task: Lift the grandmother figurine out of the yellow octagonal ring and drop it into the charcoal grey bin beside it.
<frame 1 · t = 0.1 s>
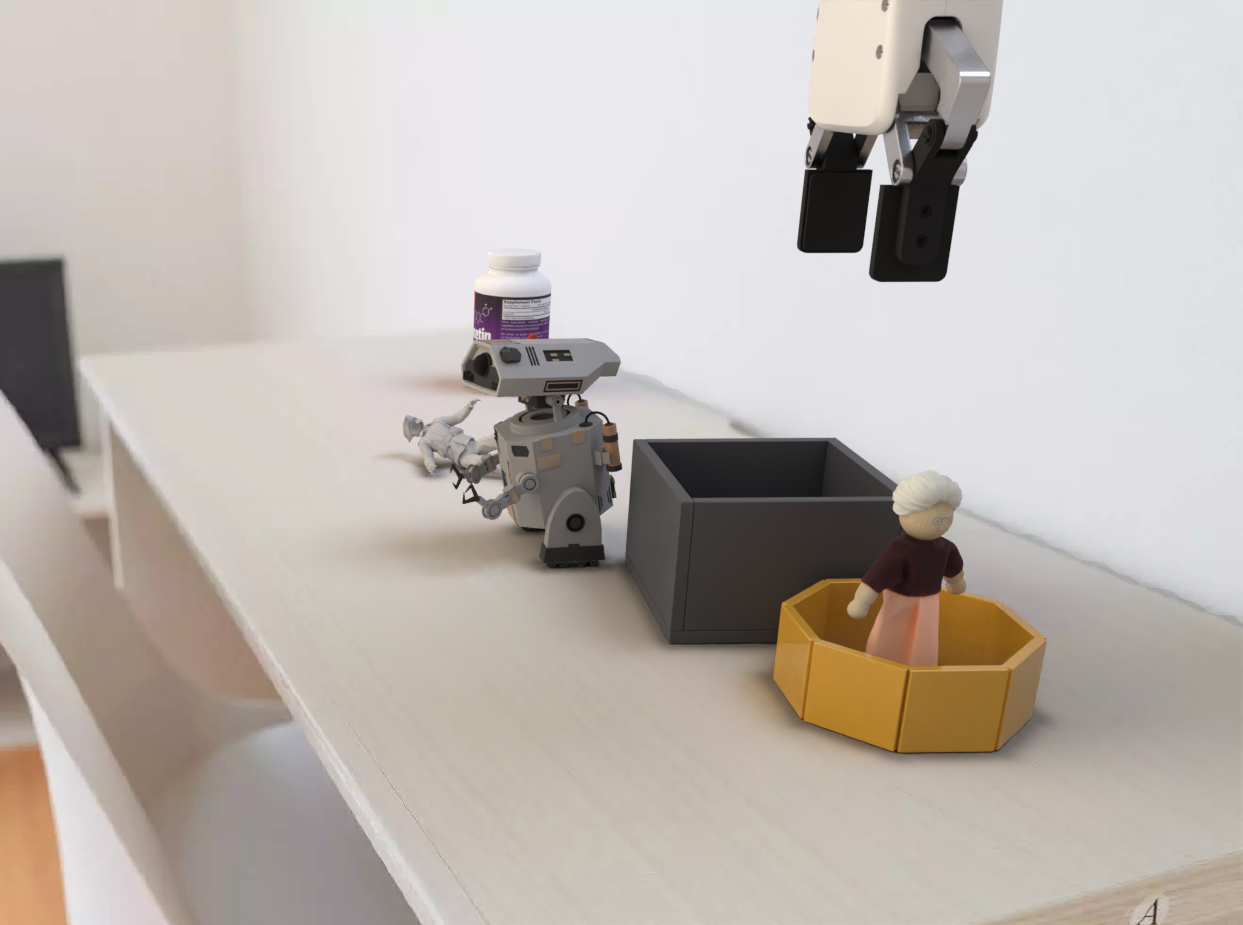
hand: (864, 265, 60), 23 cm above the table, tool pointing down, fingers open, 9 cm apart
grandmother figurine: (897, 700, 69), resting in yellow octagonal ring
bin: (750, 599, 82), on the table
figurine: (529, 550, 91), on the table
pill bottle: (509, 390, 138), on the table
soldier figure: (465, 470, 110), on the table
yellow octagonal ring: (898, 697, 69), on the table
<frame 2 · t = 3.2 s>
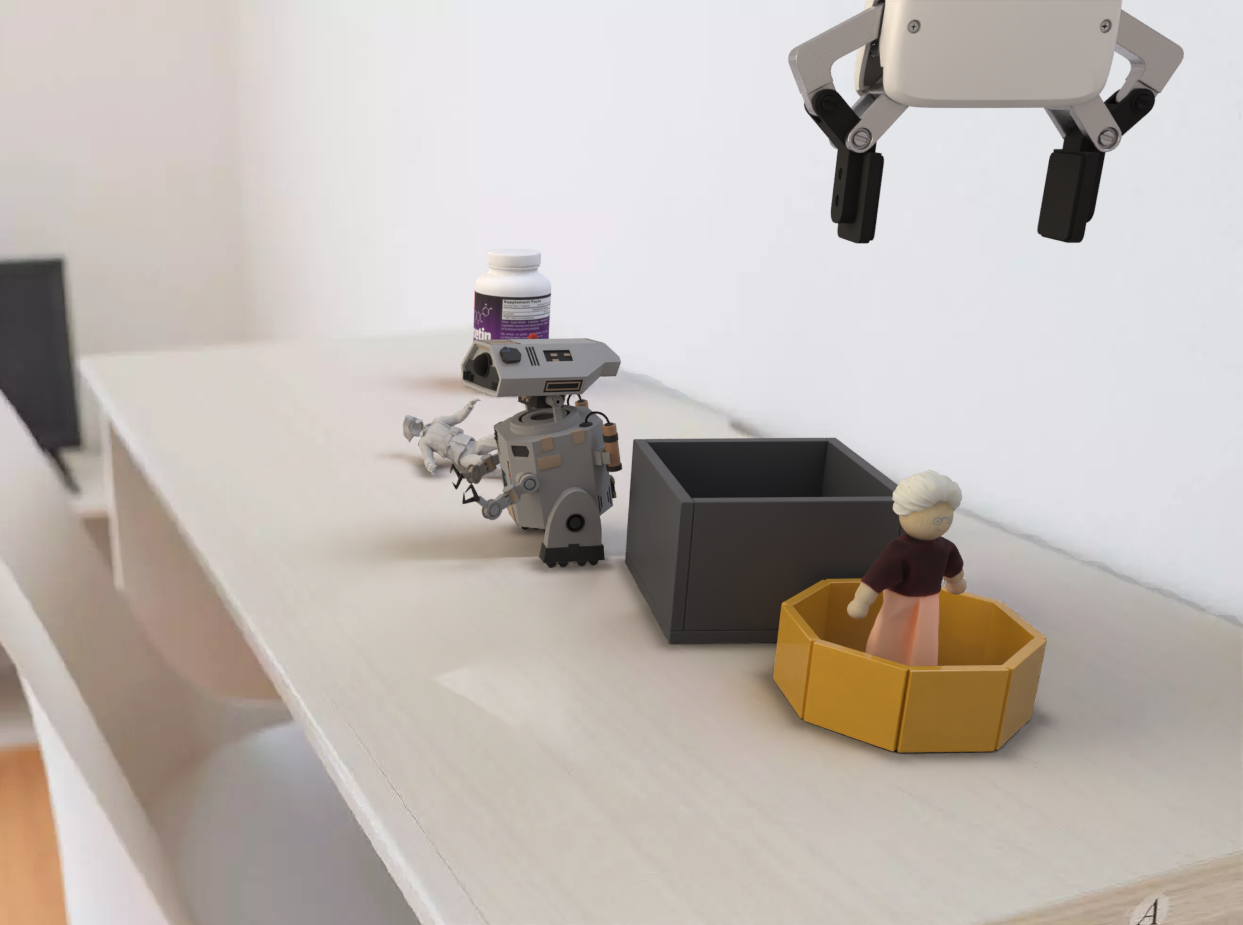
hand: (956, 239, 60), 24 cm above the table, tool pointing down, fingers open, 9 cm apart
nothing on the table moved.
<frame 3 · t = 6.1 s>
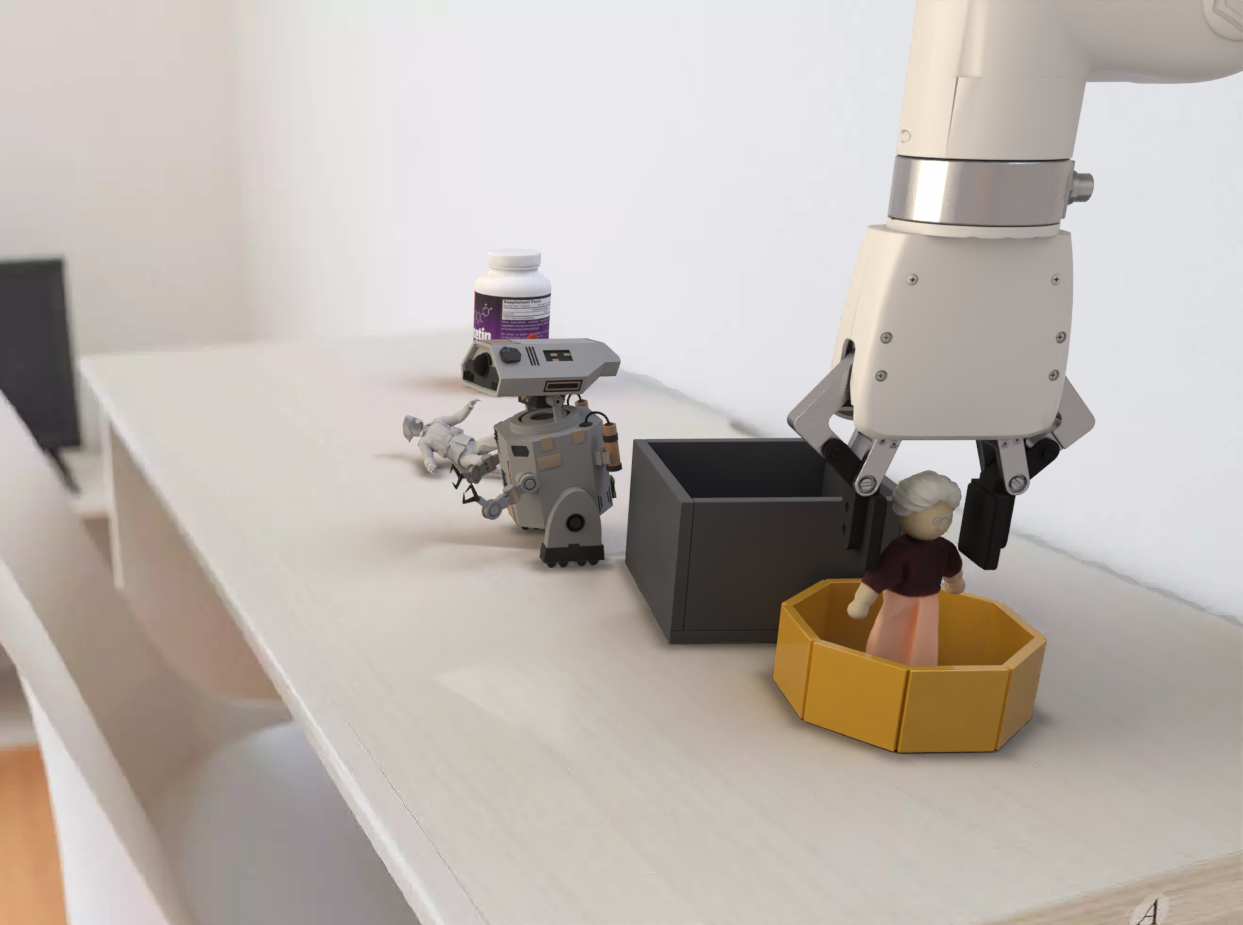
hand: (918, 558, 66), 8 cm above the table, tool pointing down, fingers closed on grandmother figurine, 5 cm apart
grandmother figurine: (897, 700, 69), resting in yellow octagonal ring, touching gripper
everything else where it was.
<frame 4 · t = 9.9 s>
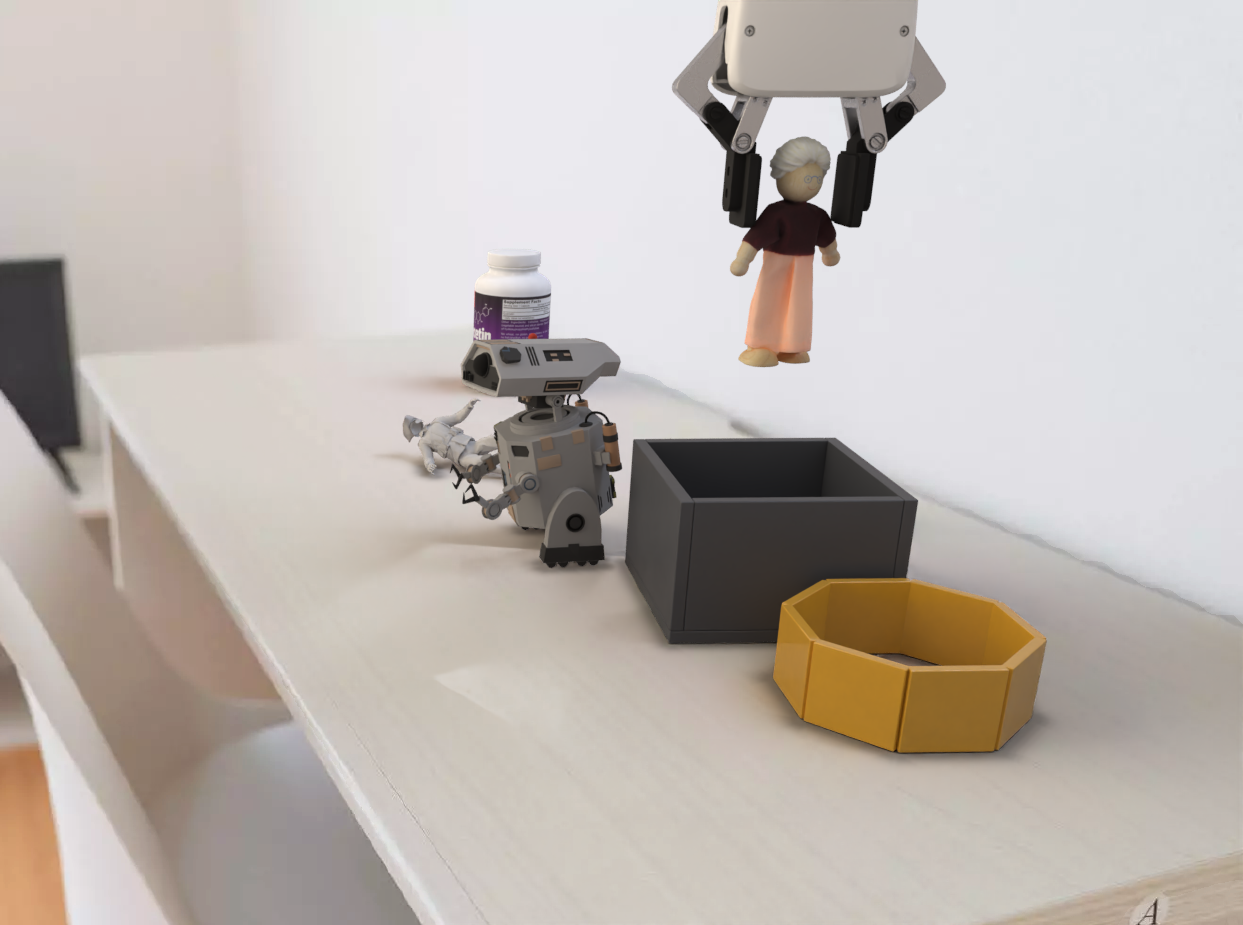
hand: (793, 221, 73), 23 cm above the table, tool pointing down, fingers closed on grandmother figurine, 5 cm apart
grandmother figurine: (779, 363, 76), point 15 cm above the table, touching gripper
everything else where it was.
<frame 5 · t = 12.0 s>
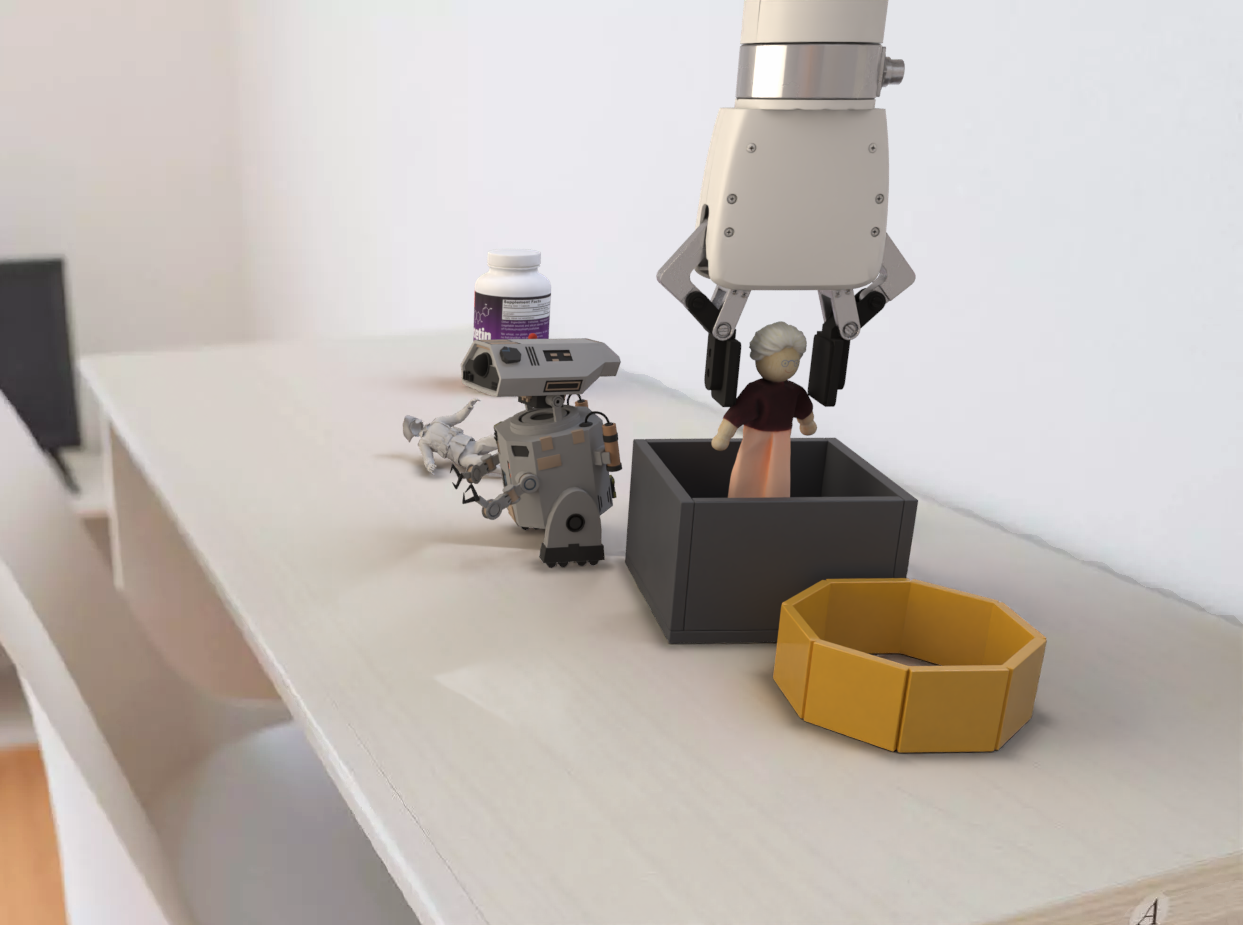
hand: (772, 398, 77), 13 cm above the table, tool pointing down, fingers closed on grandmother figurine, 5 cm apart
grandmother figurine: (758, 527, 80), point 5 cm above the table, touching gripper
everything else where it was.
when the fingers open (9 cm above the table, at t = 13.6 s): grandmother figurine stays where it is, resting on bin.
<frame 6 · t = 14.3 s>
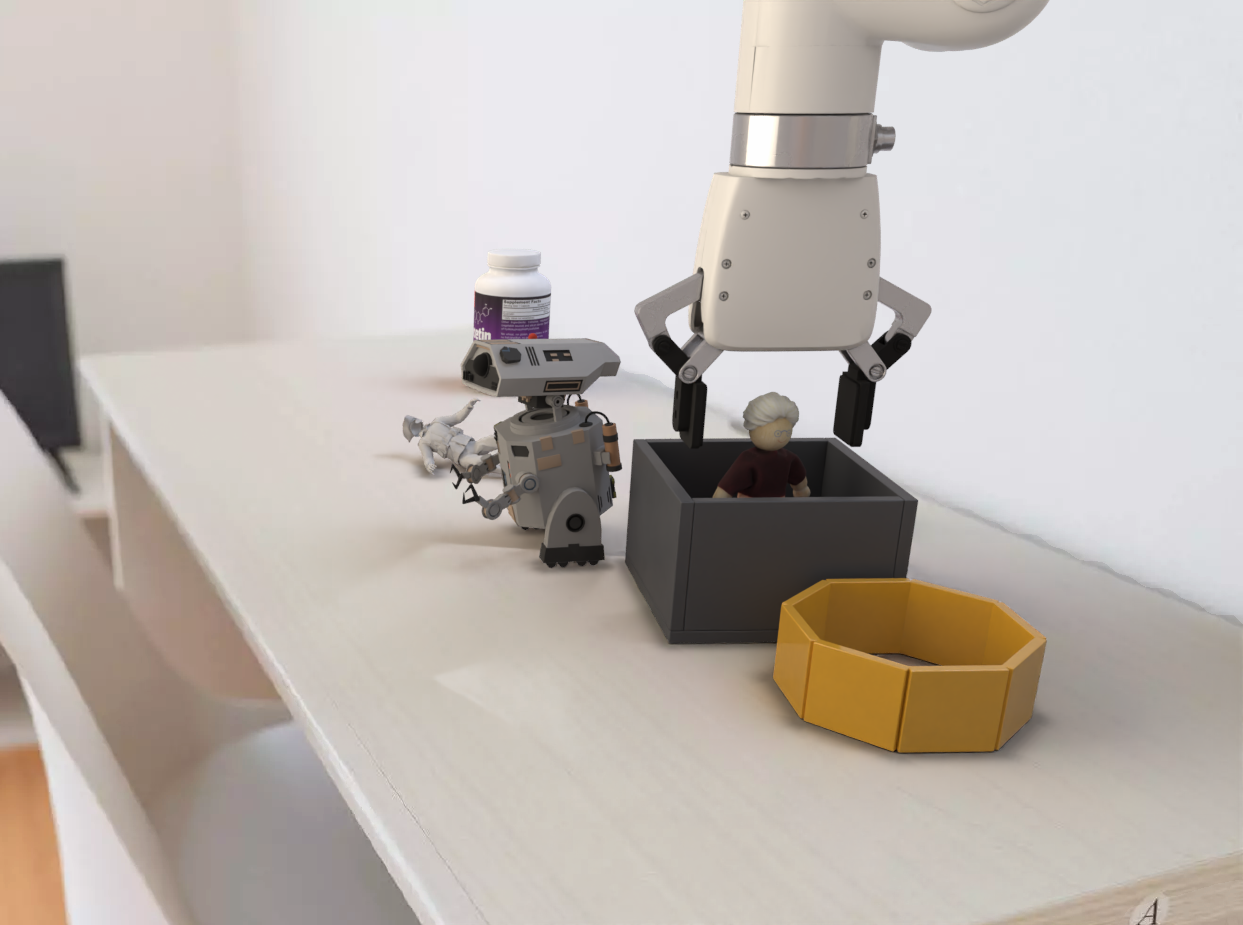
hand: (768, 442, 78), 10 cm above the table, tool pointing down, fingers open, 9 cm apart
grandmother figurine: (753, 590, 82), point 1 cm above the table, touching bin
everything else where it was.
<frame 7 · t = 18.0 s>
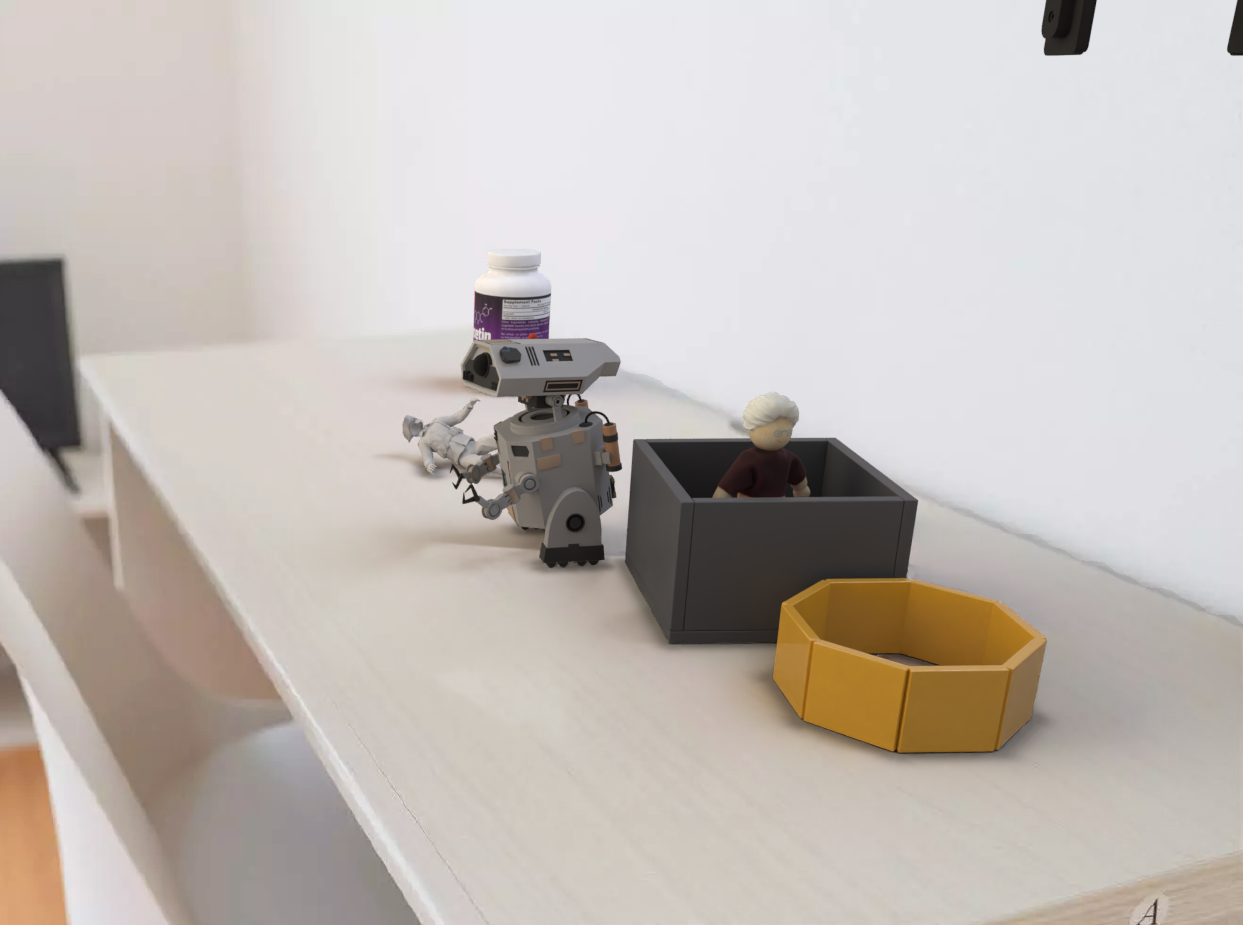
hand: (1157, 54, 65), 32 cm above the table, tool pointing down, fingers open, 9 cm apart
nothing on the table moved.
at the end: grandmother figurine inside the target area in the bin (0.1 cm from its centre), point 0.6 cm above the bin's base; the gripper is holding nothing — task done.
